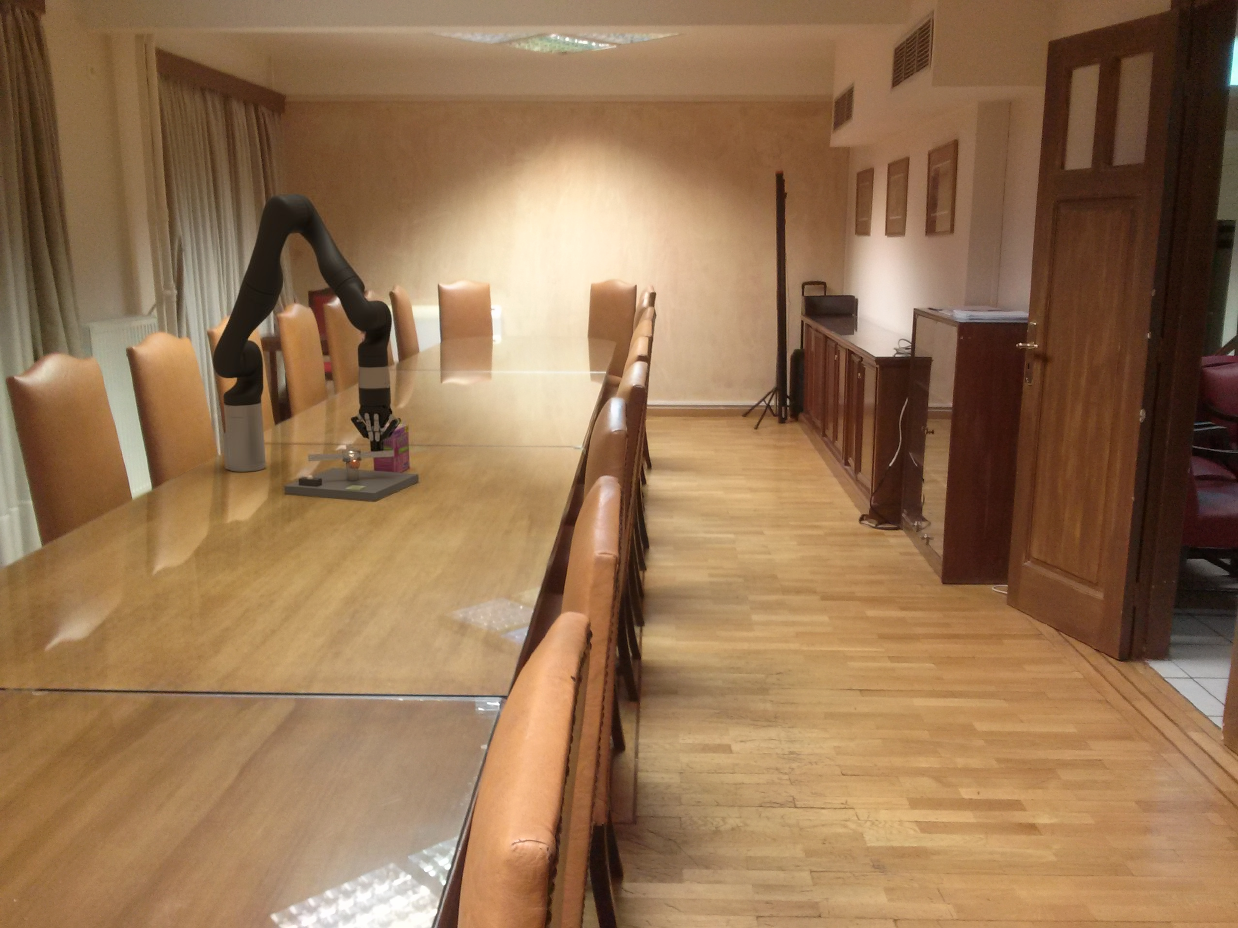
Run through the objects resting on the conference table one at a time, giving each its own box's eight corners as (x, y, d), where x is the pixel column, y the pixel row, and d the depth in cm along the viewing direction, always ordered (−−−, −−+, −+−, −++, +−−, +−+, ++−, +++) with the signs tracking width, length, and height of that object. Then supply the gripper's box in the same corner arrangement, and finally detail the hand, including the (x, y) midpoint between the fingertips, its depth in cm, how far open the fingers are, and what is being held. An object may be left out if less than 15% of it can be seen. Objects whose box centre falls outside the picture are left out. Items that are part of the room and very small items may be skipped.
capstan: (307, 454, 266) (306, 445, 265) (390, 450, 271) (389, 440, 271) (310, 473, 245) (309, 462, 245) (399, 467, 251) (398, 457, 251)
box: (394, 476, 273) (392, 430, 270) (373, 475, 274) (371, 429, 271) (410, 468, 283) (408, 423, 280) (390, 467, 284) (388, 423, 281)
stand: (284, 494, 254) (282, 467, 253) (333, 475, 274) (332, 450, 273) (375, 501, 247) (373, 473, 246) (418, 481, 267) (417, 456, 266)
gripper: (341, 385, 258) (345, 456, 262) (390, 388, 254) (394, 460, 258) (358, 381, 265) (361, 451, 269) (406, 384, 261) (409, 454, 265)
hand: (377, 455), depth 263 cm, fingers closed
